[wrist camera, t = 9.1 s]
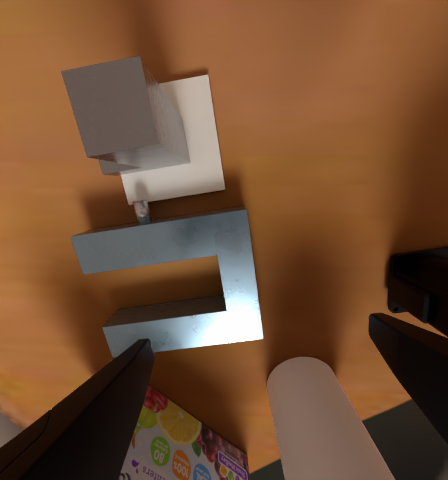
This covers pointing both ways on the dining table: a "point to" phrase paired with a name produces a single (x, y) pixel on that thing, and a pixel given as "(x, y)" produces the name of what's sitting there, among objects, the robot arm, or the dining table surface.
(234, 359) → the dining table surface
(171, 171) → the tile
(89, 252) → the frame
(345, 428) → the cup
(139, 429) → the snack box
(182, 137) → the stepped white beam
